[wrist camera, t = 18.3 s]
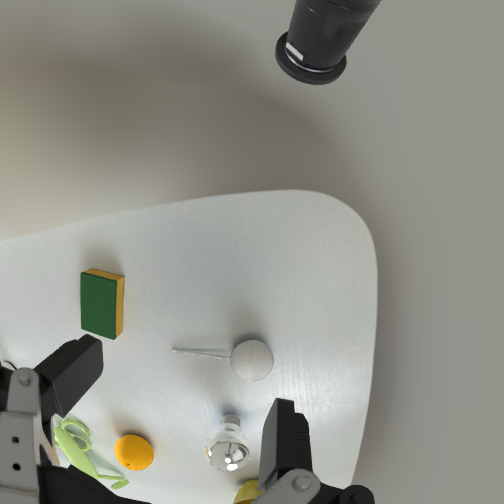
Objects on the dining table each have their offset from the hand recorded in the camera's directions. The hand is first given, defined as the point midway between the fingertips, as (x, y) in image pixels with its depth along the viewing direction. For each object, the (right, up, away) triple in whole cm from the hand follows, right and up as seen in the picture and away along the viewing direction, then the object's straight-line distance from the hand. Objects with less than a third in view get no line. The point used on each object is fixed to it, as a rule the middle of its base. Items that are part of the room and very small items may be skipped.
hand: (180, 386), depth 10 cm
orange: (-20, -33, +31) cm, 49 cm away
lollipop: (-9, -9, +27) cm, 30 cm away
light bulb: (-1, -22, +30) cm, 37 cm away
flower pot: (+4, -46, +33) cm, 57 cm away
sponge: (-19, -2, +26) cm, 32 cm away
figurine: (-39, -45, +32) cm, 67 cm away
